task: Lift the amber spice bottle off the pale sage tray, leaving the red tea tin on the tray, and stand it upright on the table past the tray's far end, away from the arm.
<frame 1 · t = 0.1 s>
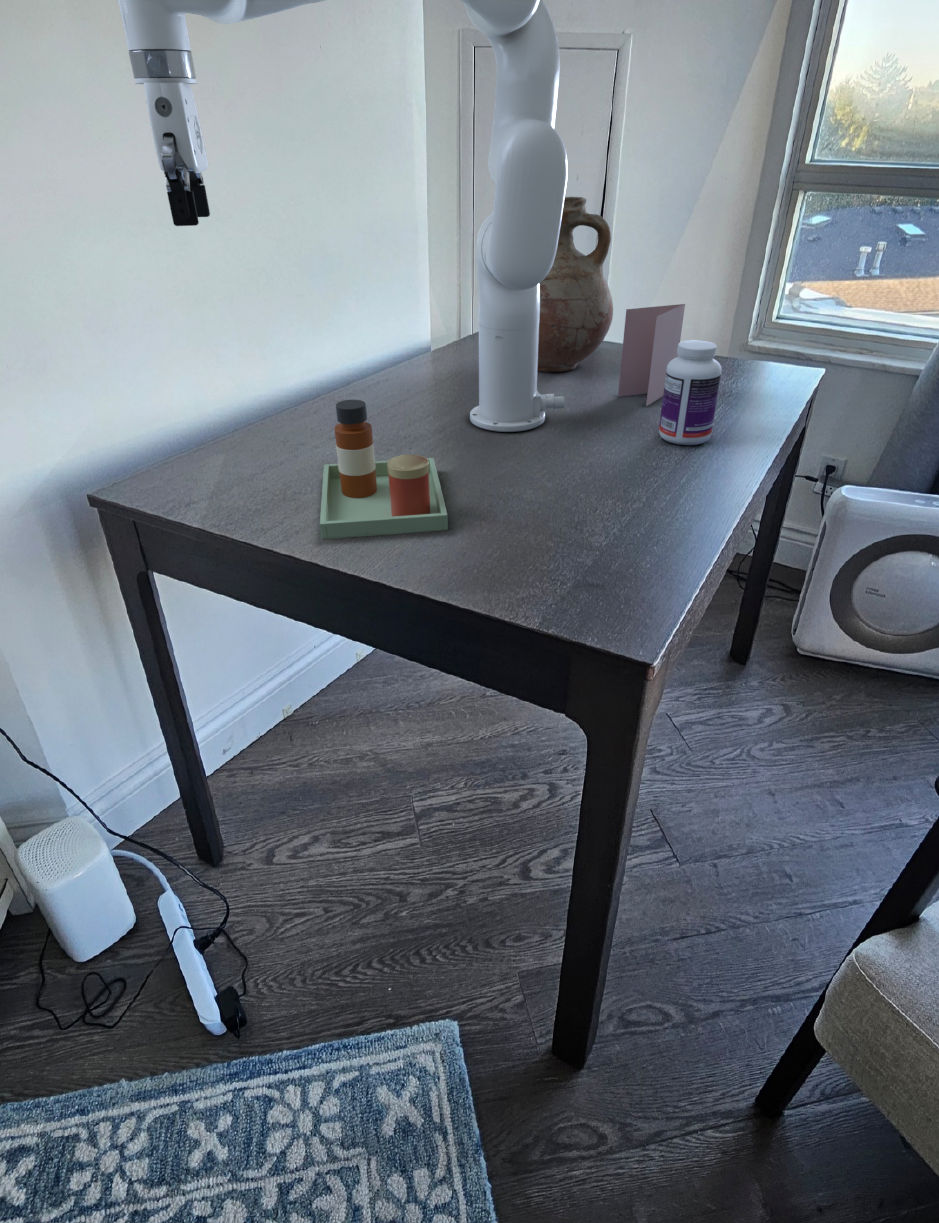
hand: (193, 220, 105), 31 cm above the table, tool pointing down, fingers open, 9 cm apart
greeting card: (653, 398, 136), on the table
spice bottle: (359, 490, 103), point 1 cm above the table, touching tray
tray: (382, 505, 100), on the table
tea tin: (411, 513, 97), point 1 cm above the table, touching tray
jug: (554, 366, 153), on the table
pill bottle: (683, 439, 119), on the table
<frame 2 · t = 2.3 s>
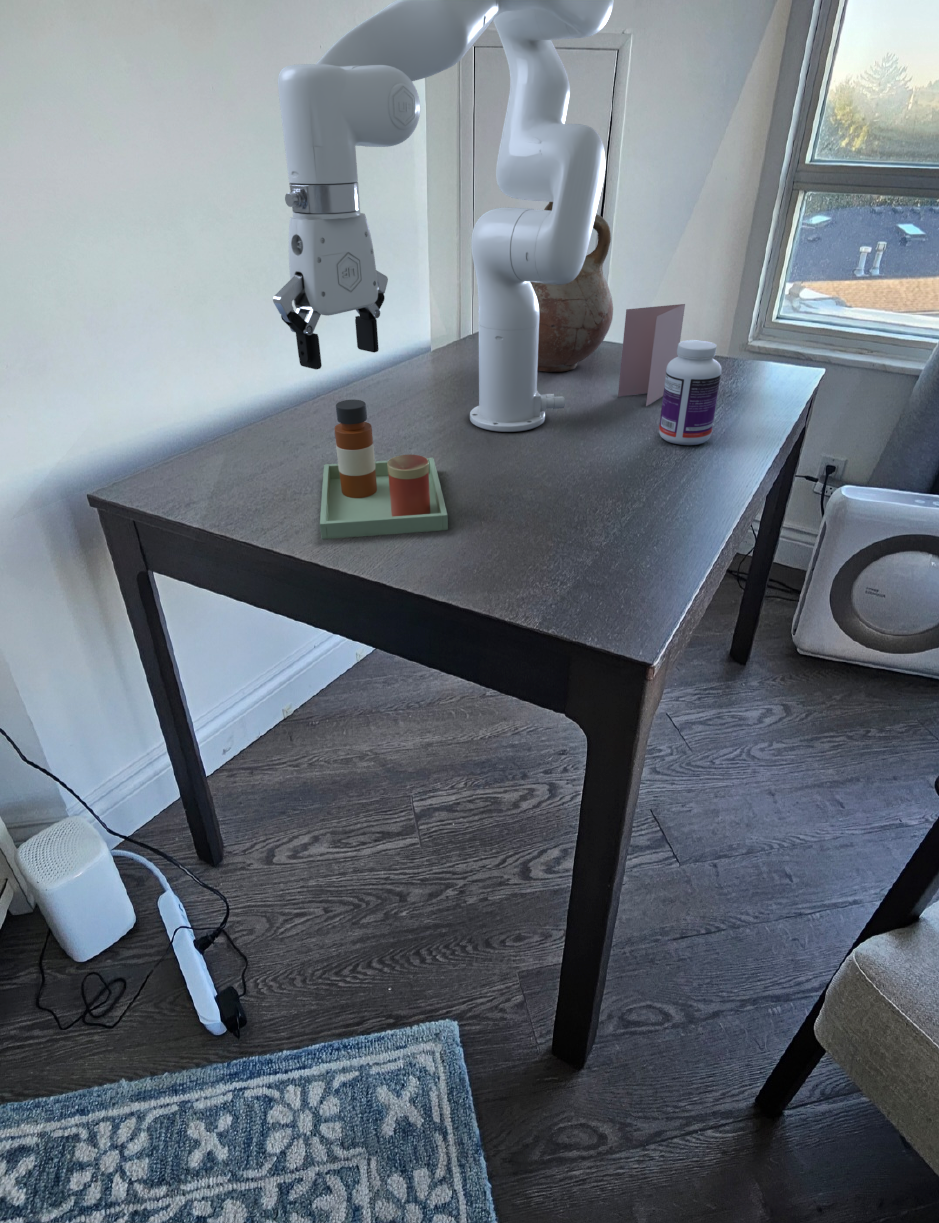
hand: (340, 358, 93), 18 cm above the table, tool pointing down, fingers open, 9 cm apart
nothing on the table moved.
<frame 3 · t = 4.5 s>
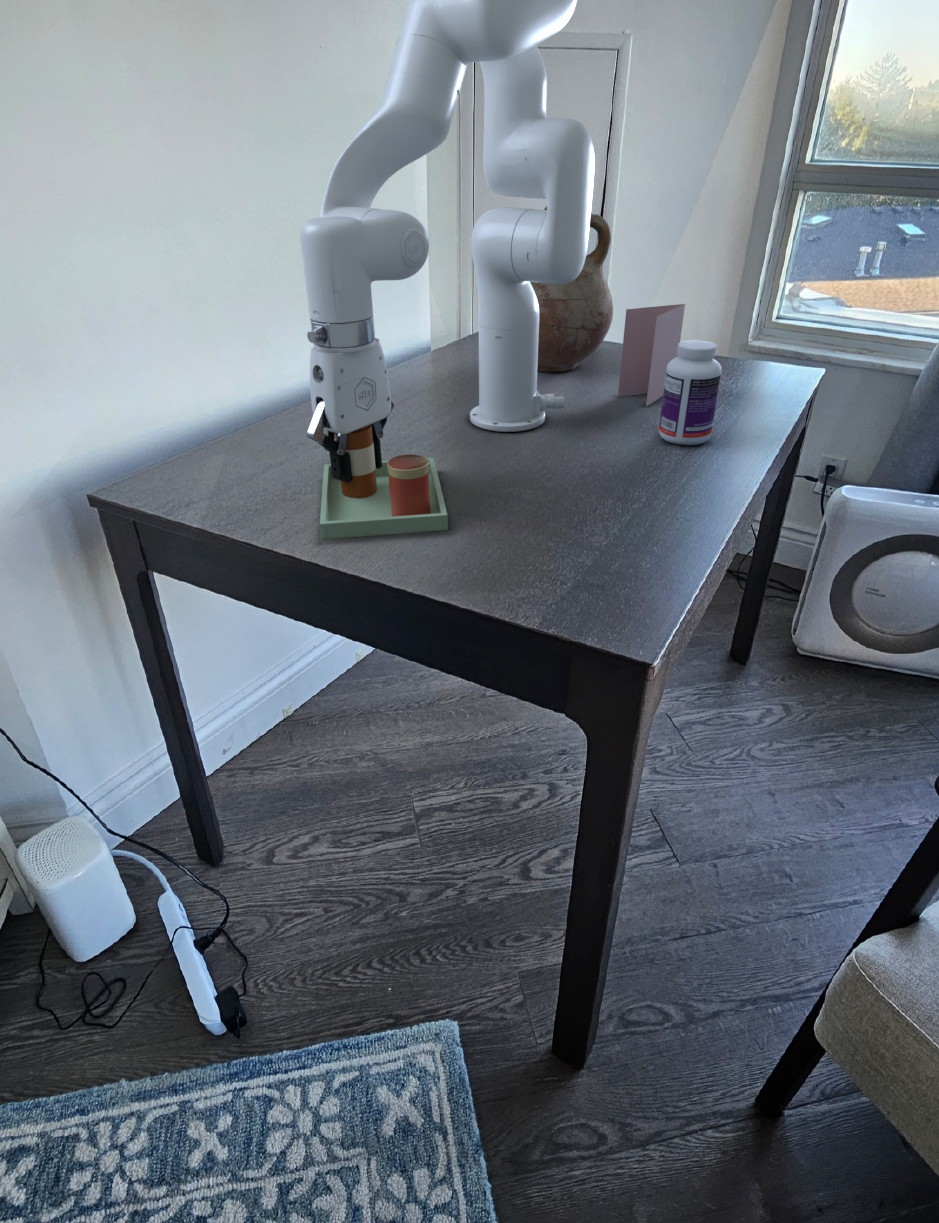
hand: (357, 471, 101), 3 cm above the table, tool pointing down, fingers closed on spice bottle, 4 cm apart
spice bottle: (359, 490, 103), point 1 cm above the table, touching gripper, tray
everything else where it was.
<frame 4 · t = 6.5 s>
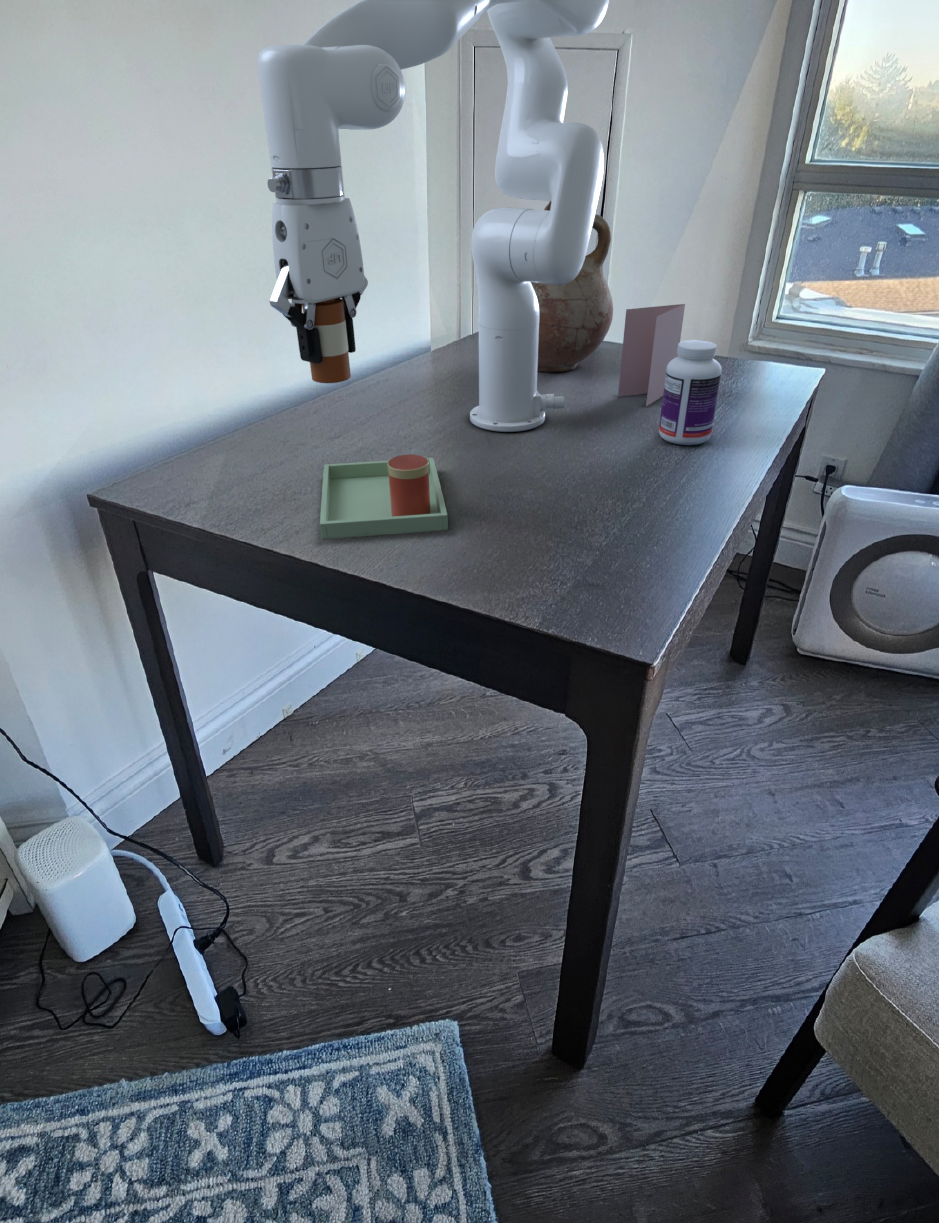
hand: (328, 354, 92), 19 cm above the table, tool pointing down, fingers closed on spice bottle, 4 cm apart
spice bottle: (331, 377, 94), point 16 cm above the table, touching gripper
everything else where it was.
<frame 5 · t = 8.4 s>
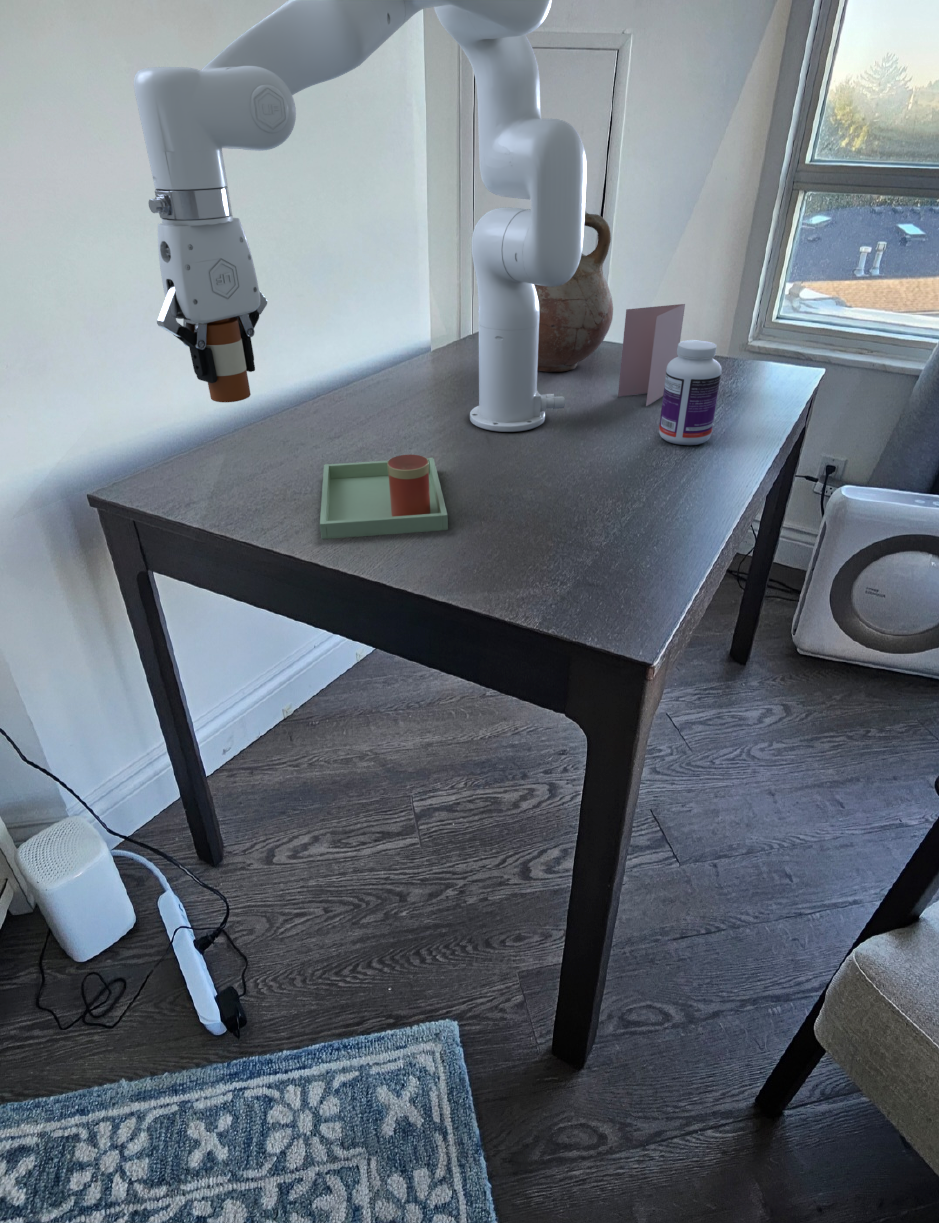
hand: (226, 373, 92), 17 cm above the table, tool pointing down, fingers closed on spice bottle, 4 cm apart
spice bottle: (230, 396, 94), point 14 cm above the table, touching gripper
everything else where it was.
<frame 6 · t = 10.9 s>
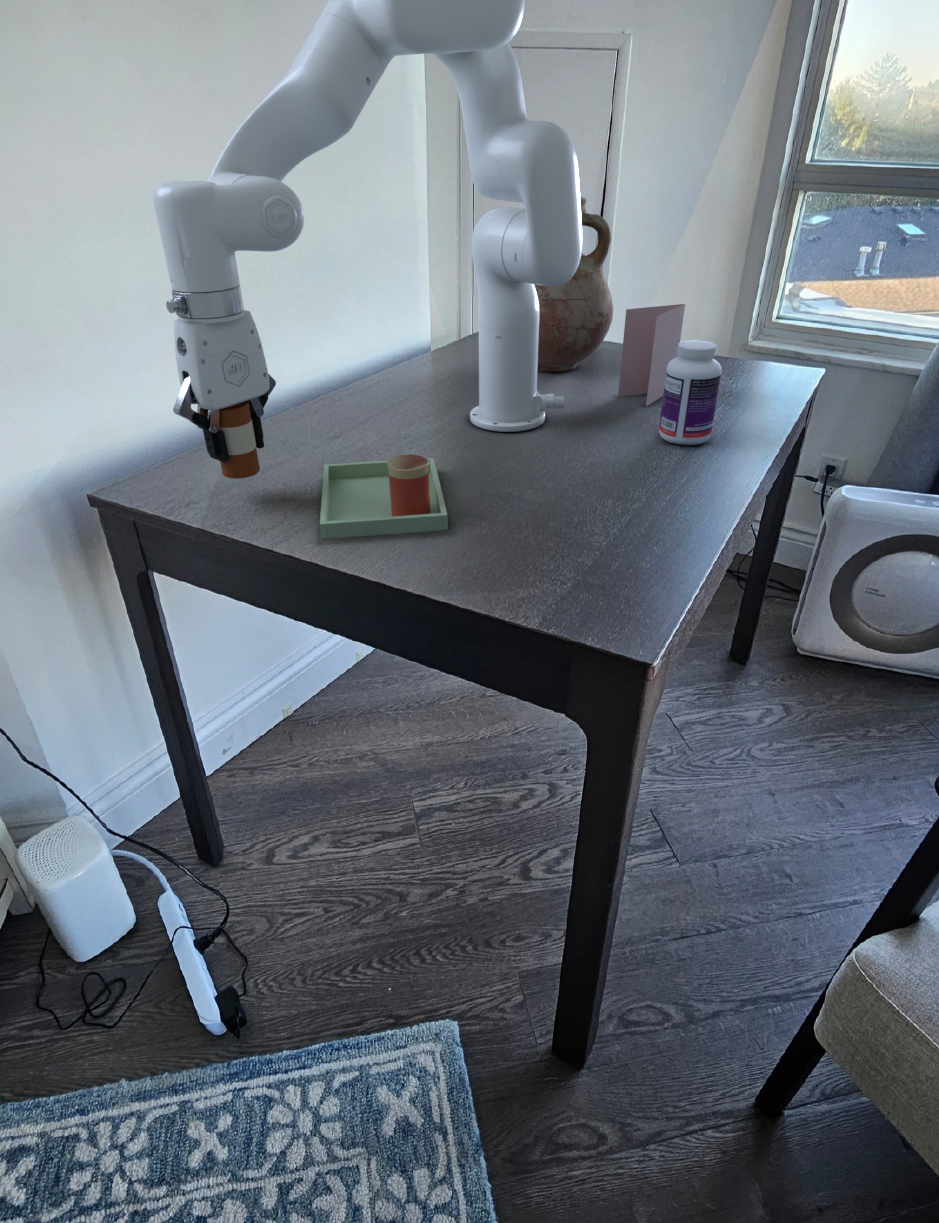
hand: (237, 451, 97), 7 cm above the table, tool pointing down, fingers closed on spice bottle, 4 cm apart
spice bottle: (241, 471, 99), point 4 cm above the table, touching gripper
everything else where it was.
when the fingers open (3 cm above the table, at t = 12.6 s): spice bottle stays where it is, on the table.
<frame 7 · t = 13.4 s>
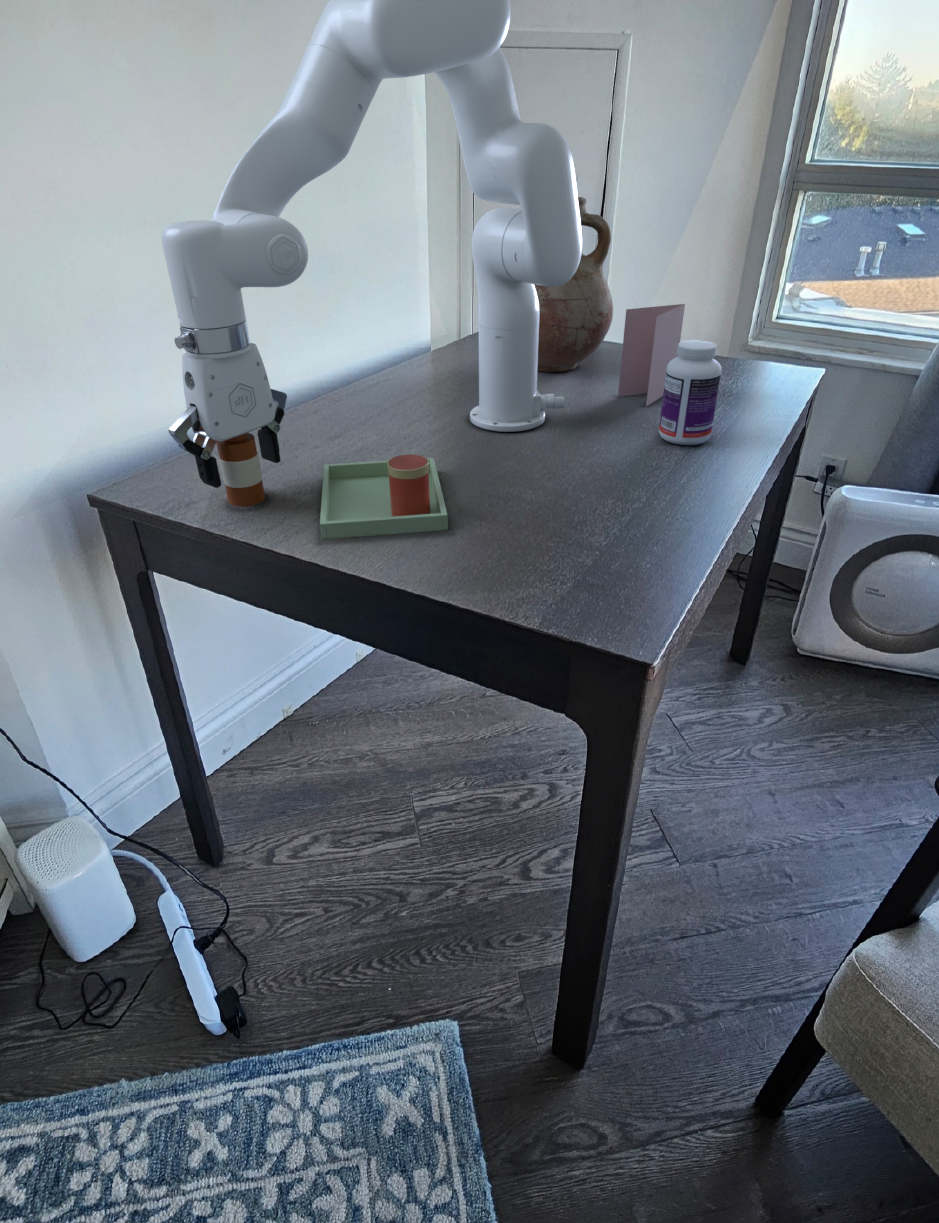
hand: (242, 472, 99), 4 cm above the table, tool pointing down, fingers open, 9 cm apart
spice bottle: (247, 502, 101), on the table
everything else where it was.
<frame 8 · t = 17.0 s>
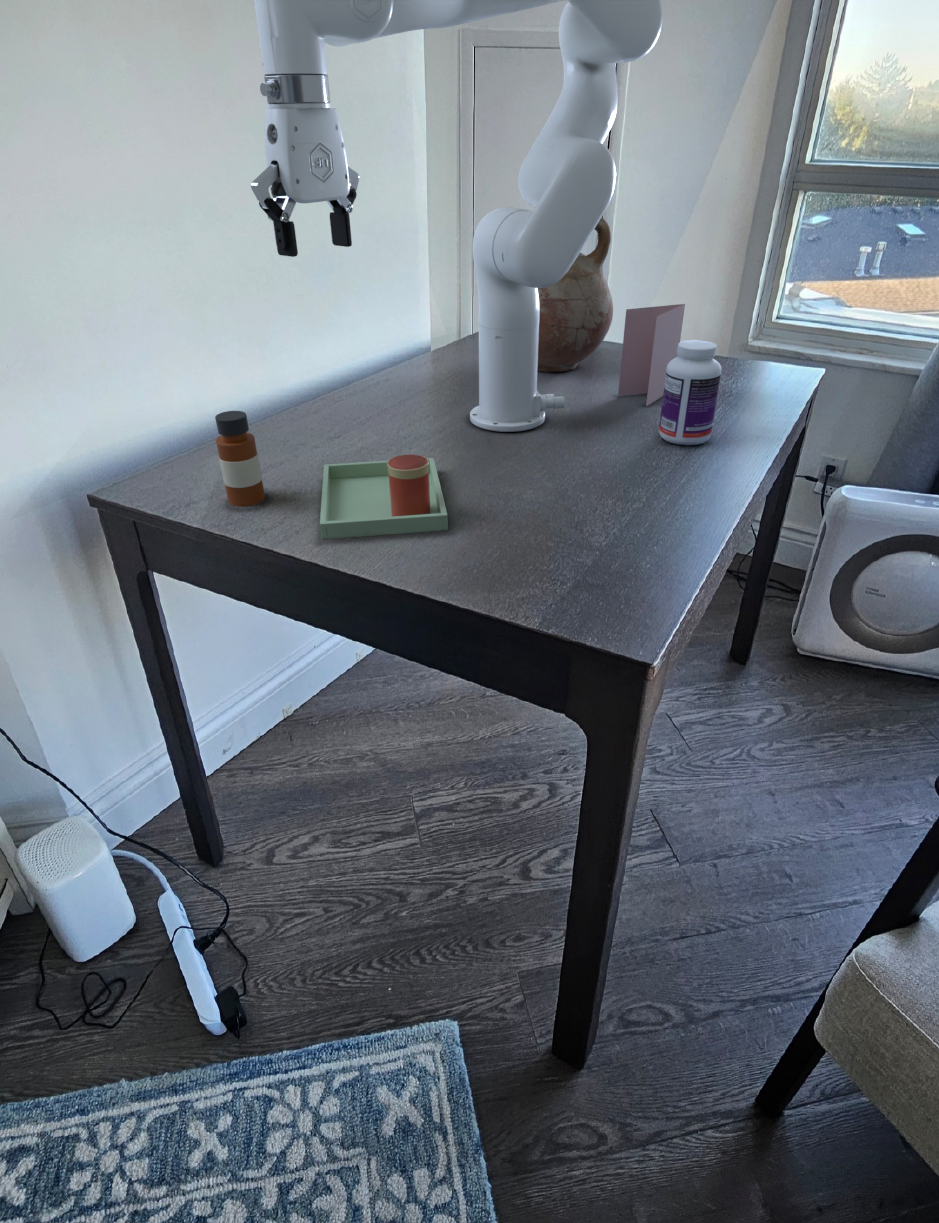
hand: (316, 250, 100), 28 cm above the table, tool pointing down, fingers open, 9 cm apart
nothing on the table moved.
at the end: spice bottle inside the target area (0.1 cm from its centre), on the table; spice bottle tilted 0°; tea tin inside the target area in the tray (5.3 cm from its centre), point 0.6 cm above the tray's base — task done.
